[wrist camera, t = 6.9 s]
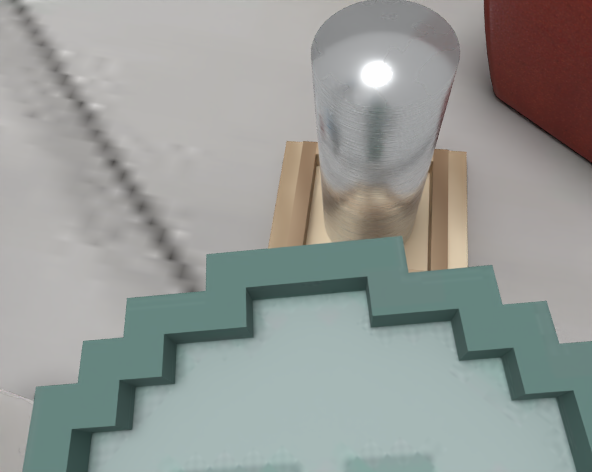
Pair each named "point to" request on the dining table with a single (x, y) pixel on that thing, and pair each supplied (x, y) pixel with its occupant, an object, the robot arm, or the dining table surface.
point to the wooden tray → (427, 226)
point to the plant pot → (544, 64)
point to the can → (323, 374)
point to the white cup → (13, 430)
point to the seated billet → (379, 113)
